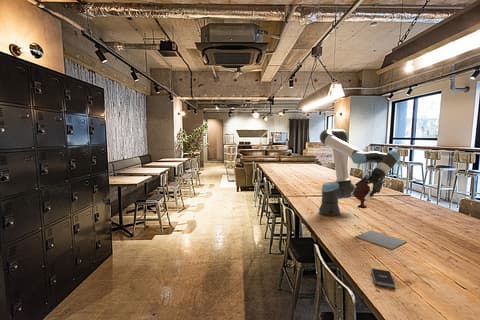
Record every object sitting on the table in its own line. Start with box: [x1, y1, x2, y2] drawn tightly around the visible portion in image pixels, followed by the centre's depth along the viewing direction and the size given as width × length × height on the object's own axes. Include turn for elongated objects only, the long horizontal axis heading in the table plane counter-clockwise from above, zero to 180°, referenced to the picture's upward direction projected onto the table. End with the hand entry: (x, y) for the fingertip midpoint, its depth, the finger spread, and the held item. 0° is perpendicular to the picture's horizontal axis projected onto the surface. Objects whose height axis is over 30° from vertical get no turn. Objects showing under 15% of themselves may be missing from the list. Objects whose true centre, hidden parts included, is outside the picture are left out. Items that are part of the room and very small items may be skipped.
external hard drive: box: [371, 268, 396, 290], centre depth 103 cm, size 7×11×2 cm, turn 160°
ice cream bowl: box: [353, 184, 371, 210], centre depth 156 cm, size 11×11×15 cm
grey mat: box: [354, 229, 408, 251], centre depth 143 cm, size 20×17×1 cm
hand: (358, 197), depth 156 cm, fingers closed on ice cream bowl, 11 cm apart
